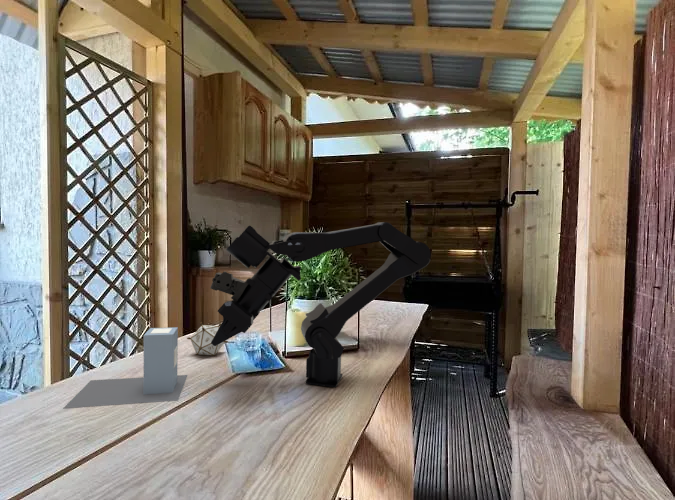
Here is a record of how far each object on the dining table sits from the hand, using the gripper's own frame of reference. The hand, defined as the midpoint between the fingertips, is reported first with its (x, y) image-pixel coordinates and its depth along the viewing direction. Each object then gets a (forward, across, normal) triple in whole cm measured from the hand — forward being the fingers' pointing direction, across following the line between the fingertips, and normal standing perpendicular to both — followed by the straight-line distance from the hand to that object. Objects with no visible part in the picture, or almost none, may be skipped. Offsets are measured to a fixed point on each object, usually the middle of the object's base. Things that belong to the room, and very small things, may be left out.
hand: (213, 344), depth 75 cm
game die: (+8, -19, +1) cm, 21 cm away
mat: (+16, +1, -6) cm, 17 cm away
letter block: (+12, +1, -2) cm, 12 cm away
